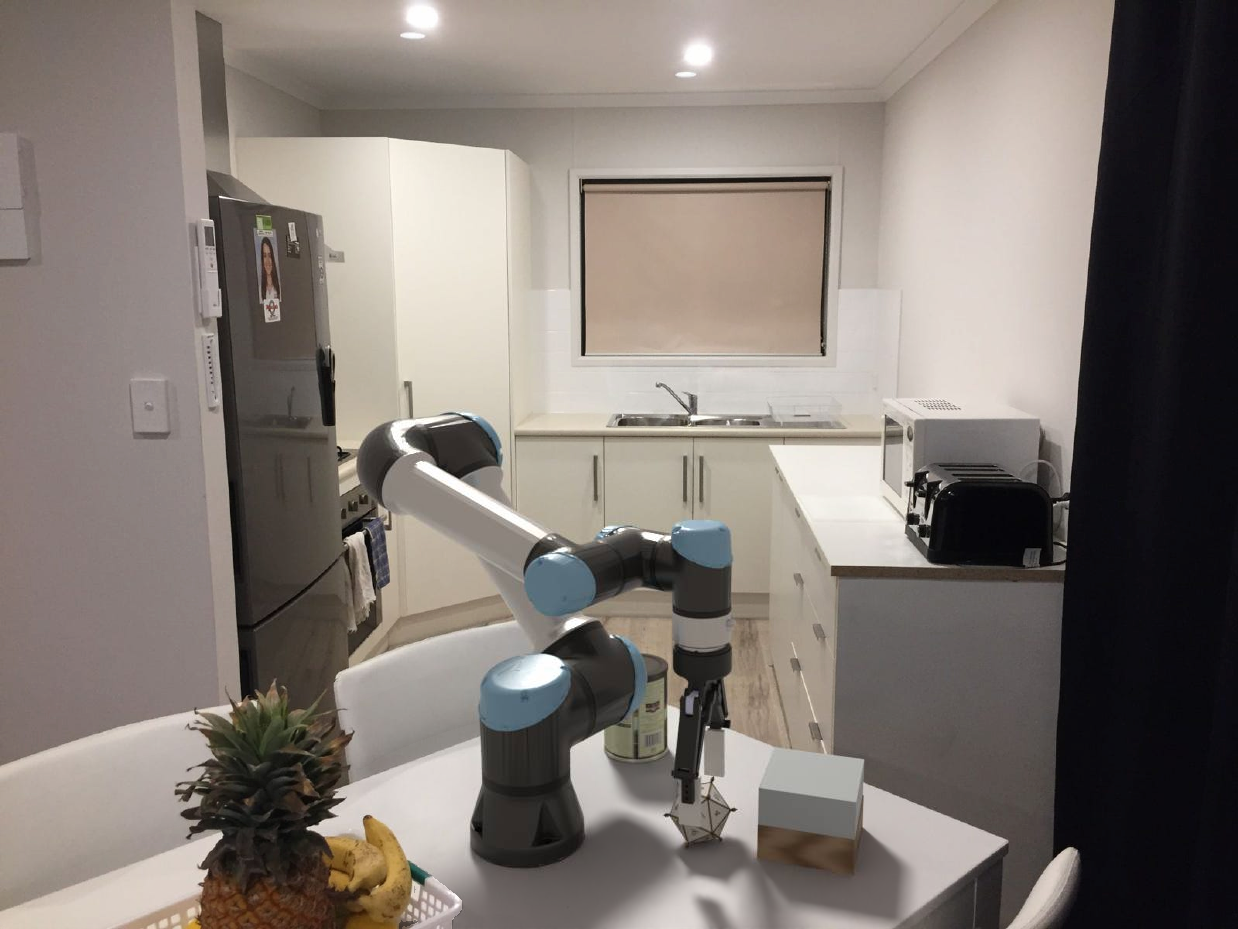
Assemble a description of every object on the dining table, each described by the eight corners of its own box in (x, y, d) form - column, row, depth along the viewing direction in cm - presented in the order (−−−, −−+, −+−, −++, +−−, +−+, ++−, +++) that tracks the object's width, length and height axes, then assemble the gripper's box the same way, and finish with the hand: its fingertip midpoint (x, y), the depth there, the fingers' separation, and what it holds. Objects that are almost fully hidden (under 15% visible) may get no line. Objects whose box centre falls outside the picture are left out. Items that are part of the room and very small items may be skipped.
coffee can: (624, 729, 165) (624, 648, 163) (679, 744, 160) (680, 660, 157) (590, 753, 156) (589, 668, 154) (646, 770, 151) (647, 681, 149)
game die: (710, 872, 131) (731, 840, 124) (650, 845, 132) (667, 811, 125) (729, 813, 137) (749, 779, 130) (672, 787, 138) (689, 752, 131)
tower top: (757, 824, 127) (758, 787, 126) (773, 781, 138) (774, 747, 137) (854, 840, 123) (856, 802, 122) (862, 794, 134) (864, 759, 133)
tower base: (757, 861, 127) (757, 825, 126) (773, 815, 139) (774, 781, 138) (853, 878, 123) (854, 841, 123) (862, 829, 135) (863, 795, 134)
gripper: (708, 680, 114) (709, 852, 117) (749, 615, 137) (749, 760, 141) (645, 674, 116) (648, 843, 120) (696, 611, 140) (697, 753, 143)
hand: (702, 798), depth 130 cm, fingers open, 13 cm apart
